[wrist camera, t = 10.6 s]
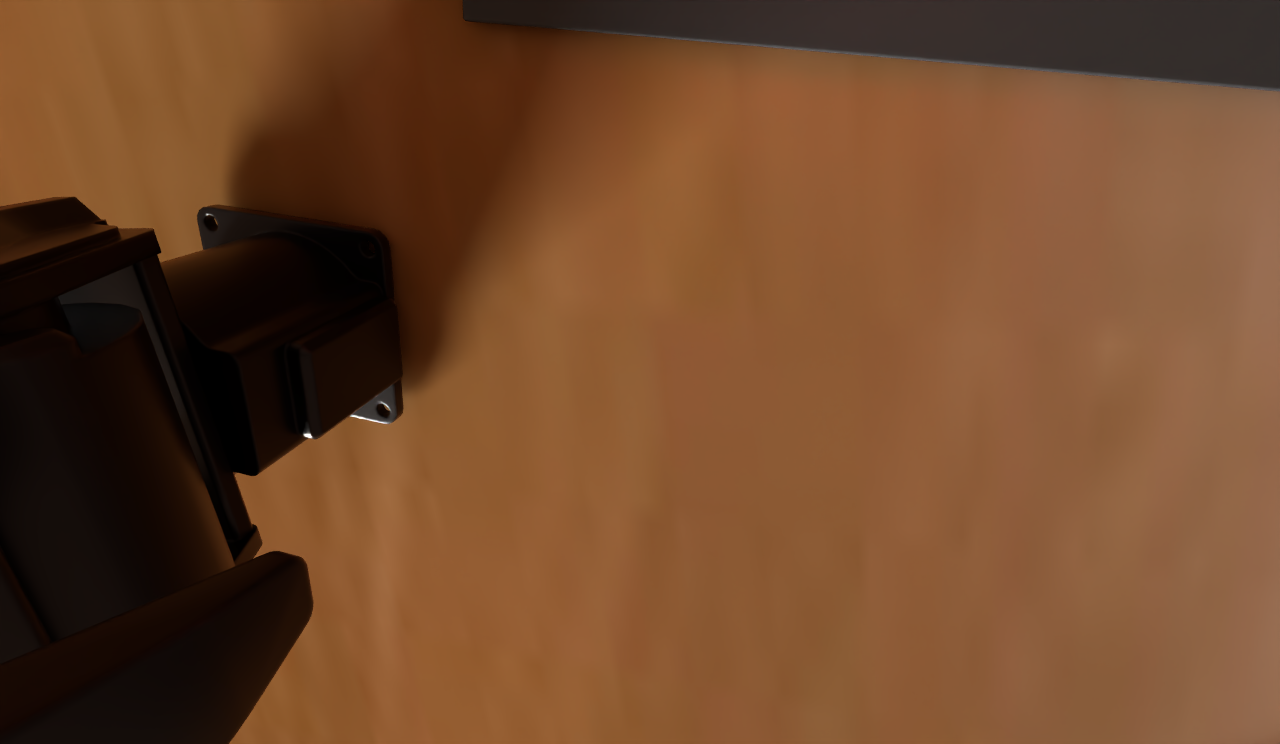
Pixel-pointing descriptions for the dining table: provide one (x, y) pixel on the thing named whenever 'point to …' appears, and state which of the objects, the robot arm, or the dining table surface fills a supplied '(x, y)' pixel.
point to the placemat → (957, 31)
